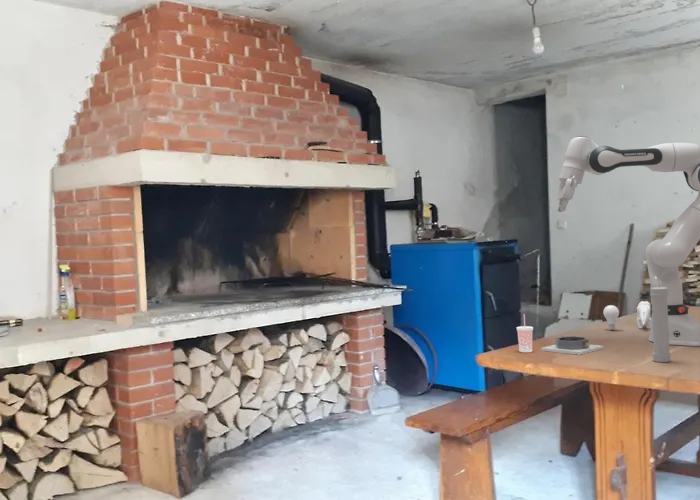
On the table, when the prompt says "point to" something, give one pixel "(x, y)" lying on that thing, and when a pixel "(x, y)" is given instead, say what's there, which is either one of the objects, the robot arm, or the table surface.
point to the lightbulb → (611, 316)
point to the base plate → (575, 351)
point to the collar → (572, 342)
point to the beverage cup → (525, 337)
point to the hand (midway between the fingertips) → (561, 211)
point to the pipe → (660, 324)
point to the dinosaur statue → (643, 314)
